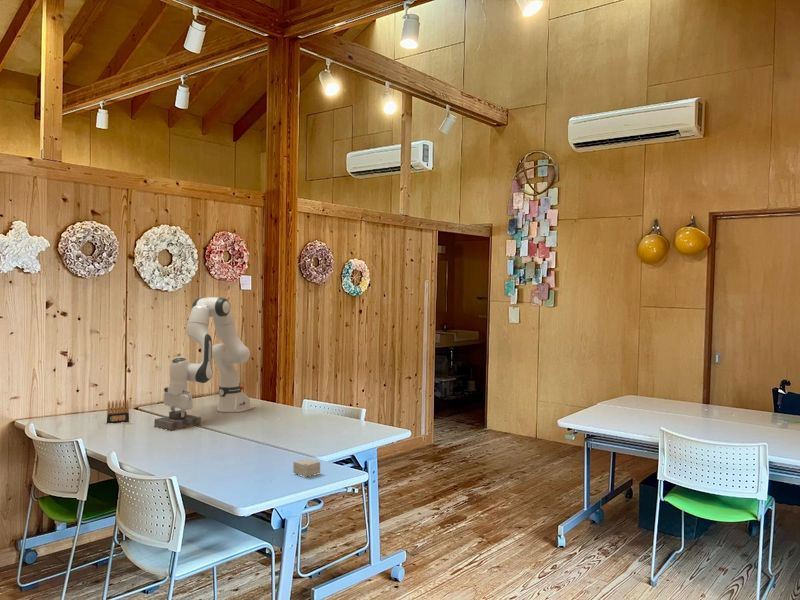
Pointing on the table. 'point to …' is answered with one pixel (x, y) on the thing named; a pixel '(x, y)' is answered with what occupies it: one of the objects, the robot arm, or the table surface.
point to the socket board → (177, 422)
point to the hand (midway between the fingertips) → (177, 416)
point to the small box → (306, 467)
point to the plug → (176, 415)
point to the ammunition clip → (118, 412)
